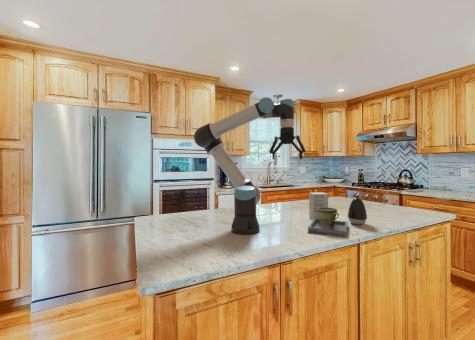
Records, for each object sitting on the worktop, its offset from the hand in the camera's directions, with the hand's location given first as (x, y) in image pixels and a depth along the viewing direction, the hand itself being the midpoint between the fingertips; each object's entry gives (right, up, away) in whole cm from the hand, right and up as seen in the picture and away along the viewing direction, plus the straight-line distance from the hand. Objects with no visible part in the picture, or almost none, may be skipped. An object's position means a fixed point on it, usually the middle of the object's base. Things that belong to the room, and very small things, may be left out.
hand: (287, 165), depth 137 cm
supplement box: (+23, -34, +16) cm, 44 cm away
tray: (+21, -35, -6) cm, 41 cm away
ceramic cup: (+22, -34, -6) cm, 41 cm away
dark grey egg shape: (+42, -34, +5) cm, 55 cm away
